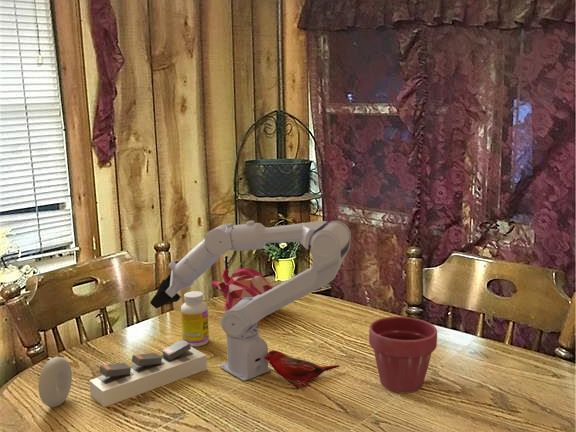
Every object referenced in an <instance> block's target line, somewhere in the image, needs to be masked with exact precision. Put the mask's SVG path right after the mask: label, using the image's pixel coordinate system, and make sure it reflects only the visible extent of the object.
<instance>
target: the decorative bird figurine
mask: <svg viewBox="0 0 576 432" xmlns="http://www.w3.org/2000/svg"><path fill="white" fill-rule="evenodd" d="M263 359H267V360H268V364H269V365H270V366H271V368H273V369H274V371H275V373H276V374H278V376H280V377H281V378H283V379H285V380H288V381H289V382H294V383H292V384H291V383H287V384H286V385H287V386H293V387H298V388H299V387H307V386H311V385H310V384H309V383H307V382H308V381H311V380H314V379H317V378H318V377H319V376H320V375H321V374H323V373H325V372H328V371H330V370H333V369H334V370H335V369H337V368H339V367H340V365H336V364H335V365H325V366H320V365H318V364H316V363H313V362H310V361H307V360H304V359H298V358H294V357H291V356H288V355H286V354H285V353H283V352H281V351H278V350H270V351H268V354H267V356H265V357H264V358H263Z"/></svg>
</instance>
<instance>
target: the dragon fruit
mask: <svg viewBox="0 0 576 432" xmlns="http://www.w3.org/2000/svg"><path fill="white" fill-rule="evenodd" d="M229 273H230V271H229V269H228V268H225V269H223V271H222V275H221V277H222V279H223V282H222V281H217V280H213V281H211V285H212V286H211V287H212V288H213V289H215V290H216V289H217V290H218V291H219V292H221V293H222V296H223V298H224V299H225V300H224V301H225V303H224V306H223V308H224V310H225V312H226V311H229V310H230V309H231V308H232V307H234V306H235V305H236V304H237V303H238V302H239V301H240V300H241V299H243V298H247V297H248V298H252V297H255V296H257V295H261V294H263V293H265V292H267V291H268V290H270V289H272V288H274V287H273V286H272V285H271V284H270V283H269V281H267V279H266V278H265V277H264V276H263V274H261V272H259V271H257V270H256V269H255V268H250V267H246V268H238V269H237V270H235V271H234V273H233V272H232V273H231V276H229ZM272 314H273V313H271V314H270V315H272Z"/></svg>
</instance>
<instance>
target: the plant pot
mask: <svg viewBox="0 0 576 432" xmlns="http://www.w3.org/2000/svg"><path fill="white" fill-rule="evenodd" d="M368 343H369V345H370V347H371V348H372V349H373V352H374V359H375V364H376V367H377V372H378V376H379V381H380V384H381V385H382V386H383V388H385V389H387V390H389V391H391V392H394V393H395V392H396V393H403V394H404V393H405V394H407V393H413V392H417V391H419V390H421V389H422V387H423V385H424V382H425V378H426V375H427V371H428V368H429V364H430V360H431V355H432V353H433V352H434V351H435V350H436V349H437V346H438V345H437V344H438V330H437V327H436V326H435V325H433V324H432V323H430V322H428V321H426V320H423V319H419V318H415V317H408V316H388V317H381V318H379V319H376V320H374V321H372V323H371V324H370V325H369V330H368Z"/></svg>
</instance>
